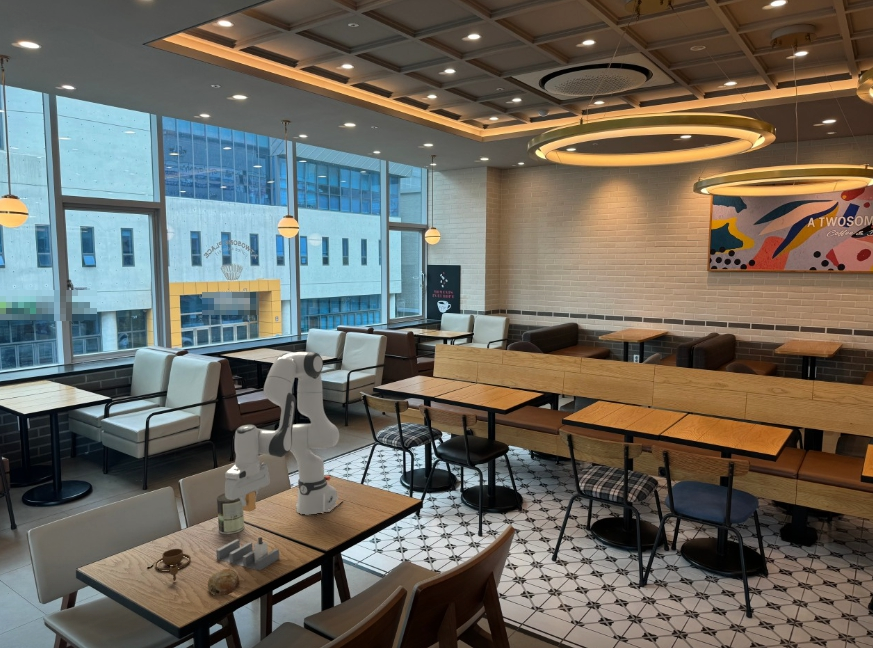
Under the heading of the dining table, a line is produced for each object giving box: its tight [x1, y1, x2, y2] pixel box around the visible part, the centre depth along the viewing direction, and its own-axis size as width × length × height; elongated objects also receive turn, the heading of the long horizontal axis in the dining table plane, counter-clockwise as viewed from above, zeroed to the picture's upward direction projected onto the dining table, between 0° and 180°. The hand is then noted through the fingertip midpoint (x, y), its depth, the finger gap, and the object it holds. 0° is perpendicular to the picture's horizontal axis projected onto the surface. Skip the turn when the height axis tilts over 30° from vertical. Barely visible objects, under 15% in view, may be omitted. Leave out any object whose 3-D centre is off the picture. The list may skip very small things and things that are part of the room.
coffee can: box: [216, 493, 245, 535], centre depth 253 cm, size 10×10×14 cm
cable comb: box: [215, 539, 280, 571], centre depth 225 cm, size 10×21×4 cm, turn 63°
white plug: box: [253, 536, 269, 563], centre depth 221 cm, size 3×4×9 cm
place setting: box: [154, 548, 191, 581], centre depth 220 cm, size 18×20×6 cm
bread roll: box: [207, 568, 240, 596], centre depth 206 cm, size 10×10×8 cm
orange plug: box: [243, 491, 257, 513], centre depth 234 cm, size 3×4×9 cm
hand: (249, 503), depth 234 cm, fingers closed on orange plug, 3 cm apart
